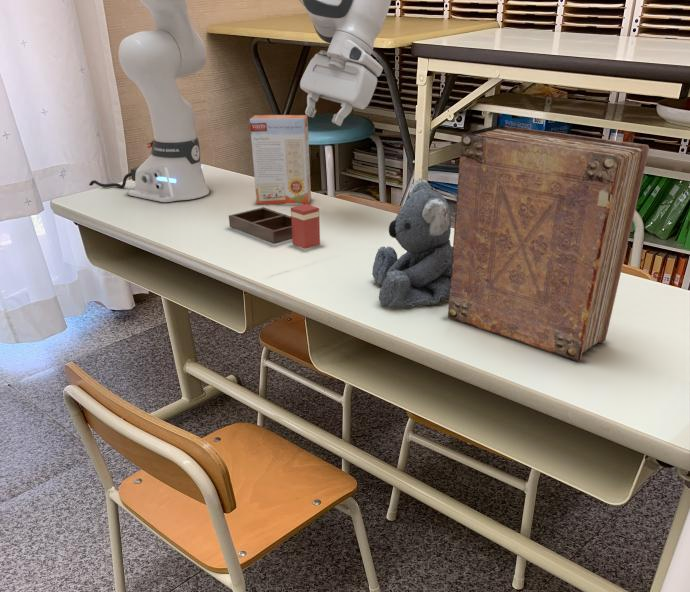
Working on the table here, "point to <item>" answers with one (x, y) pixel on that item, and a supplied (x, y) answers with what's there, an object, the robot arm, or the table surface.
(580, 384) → the table surface
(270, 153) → the cracker box
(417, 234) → the koala plush
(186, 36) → the robot arm
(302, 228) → the carton
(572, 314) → the book
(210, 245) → the table surface
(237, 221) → the organiser
